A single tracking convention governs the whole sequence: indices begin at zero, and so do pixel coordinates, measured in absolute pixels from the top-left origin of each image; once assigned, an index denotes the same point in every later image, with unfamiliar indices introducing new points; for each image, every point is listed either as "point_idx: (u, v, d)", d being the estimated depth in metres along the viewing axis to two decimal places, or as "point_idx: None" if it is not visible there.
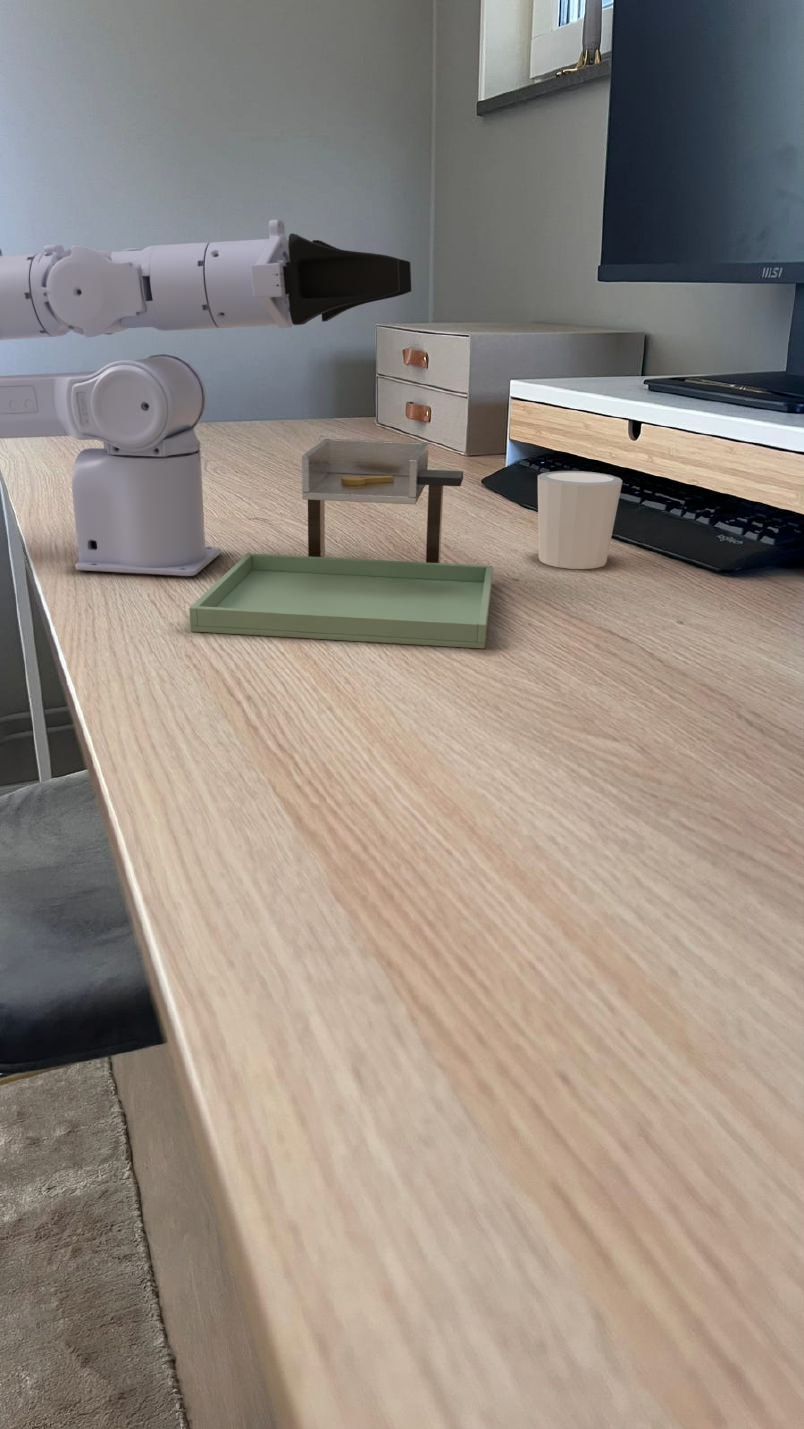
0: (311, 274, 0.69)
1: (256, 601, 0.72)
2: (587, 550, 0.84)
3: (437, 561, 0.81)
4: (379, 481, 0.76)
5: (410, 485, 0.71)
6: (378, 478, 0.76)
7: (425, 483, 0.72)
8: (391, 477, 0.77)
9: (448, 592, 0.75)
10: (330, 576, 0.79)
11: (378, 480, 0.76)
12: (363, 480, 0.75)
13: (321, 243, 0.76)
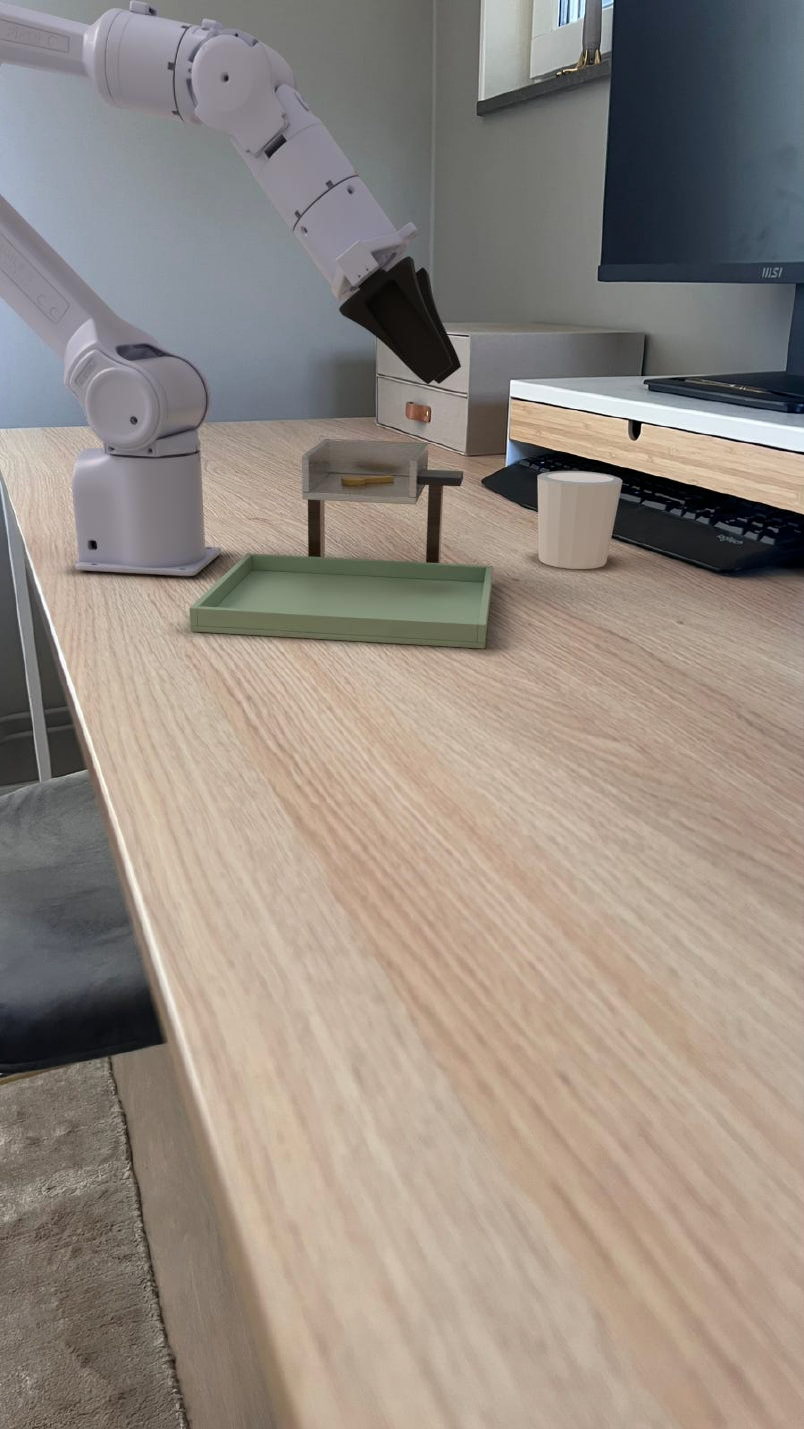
0: (390, 296, 0.67)
1: (256, 601, 0.72)
2: (587, 550, 0.84)
3: (437, 561, 0.81)
4: (379, 481, 0.76)
5: (410, 485, 0.71)
6: (378, 478, 0.76)
7: (425, 483, 0.72)
8: (391, 477, 0.77)
9: (448, 592, 0.75)
10: (330, 576, 0.79)
11: (378, 480, 0.76)
12: (363, 480, 0.75)
13: (425, 277, 0.74)
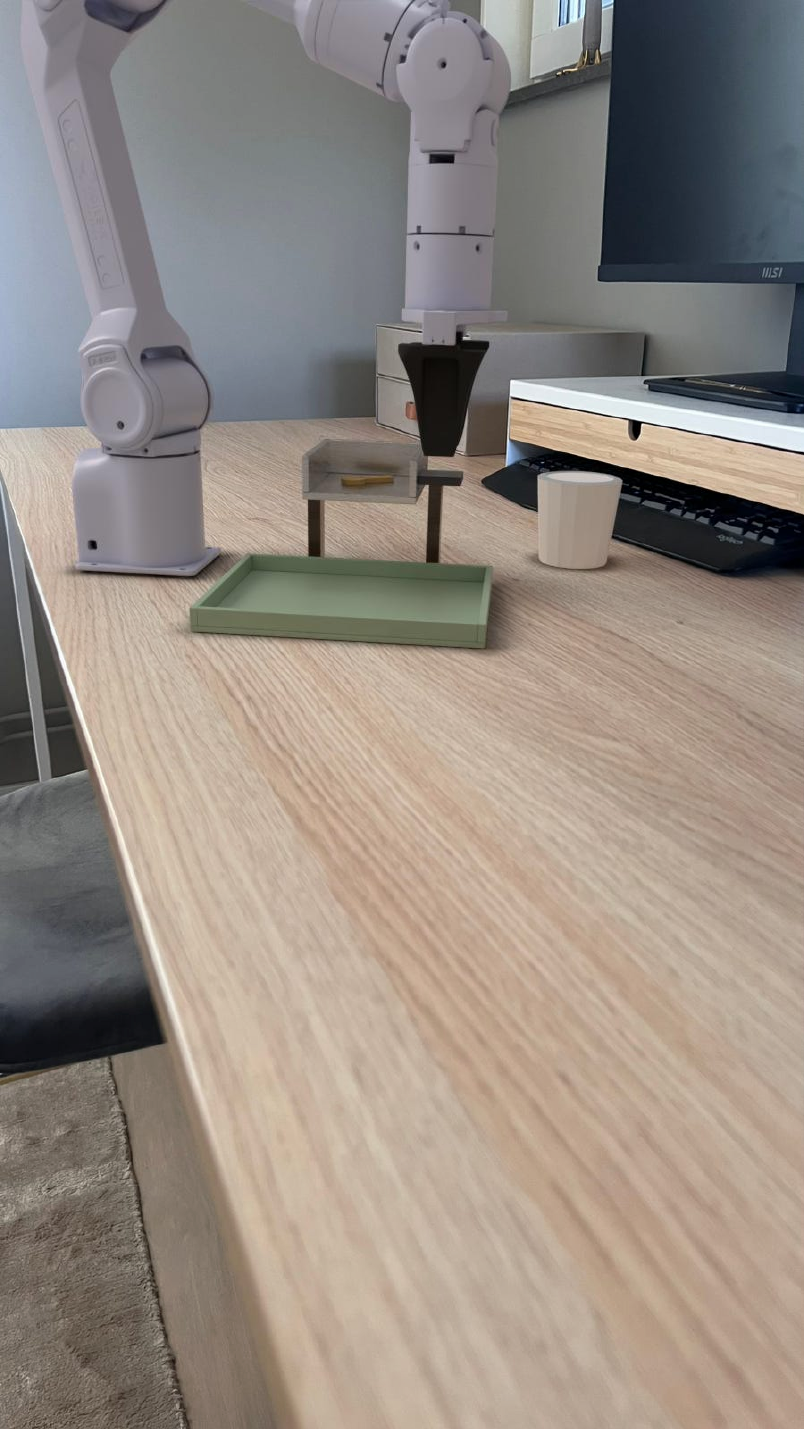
0: (446, 366, 0.67)
1: (256, 601, 0.72)
2: (587, 550, 0.84)
3: (437, 561, 0.81)
4: (379, 481, 0.76)
5: (410, 485, 0.71)
6: (378, 478, 0.76)
7: (425, 483, 0.72)
8: (391, 477, 0.77)
9: (448, 592, 0.75)
10: (330, 576, 0.79)
11: (378, 480, 0.76)
12: (363, 480, 0.75)
13: (484, 352, 0.72)
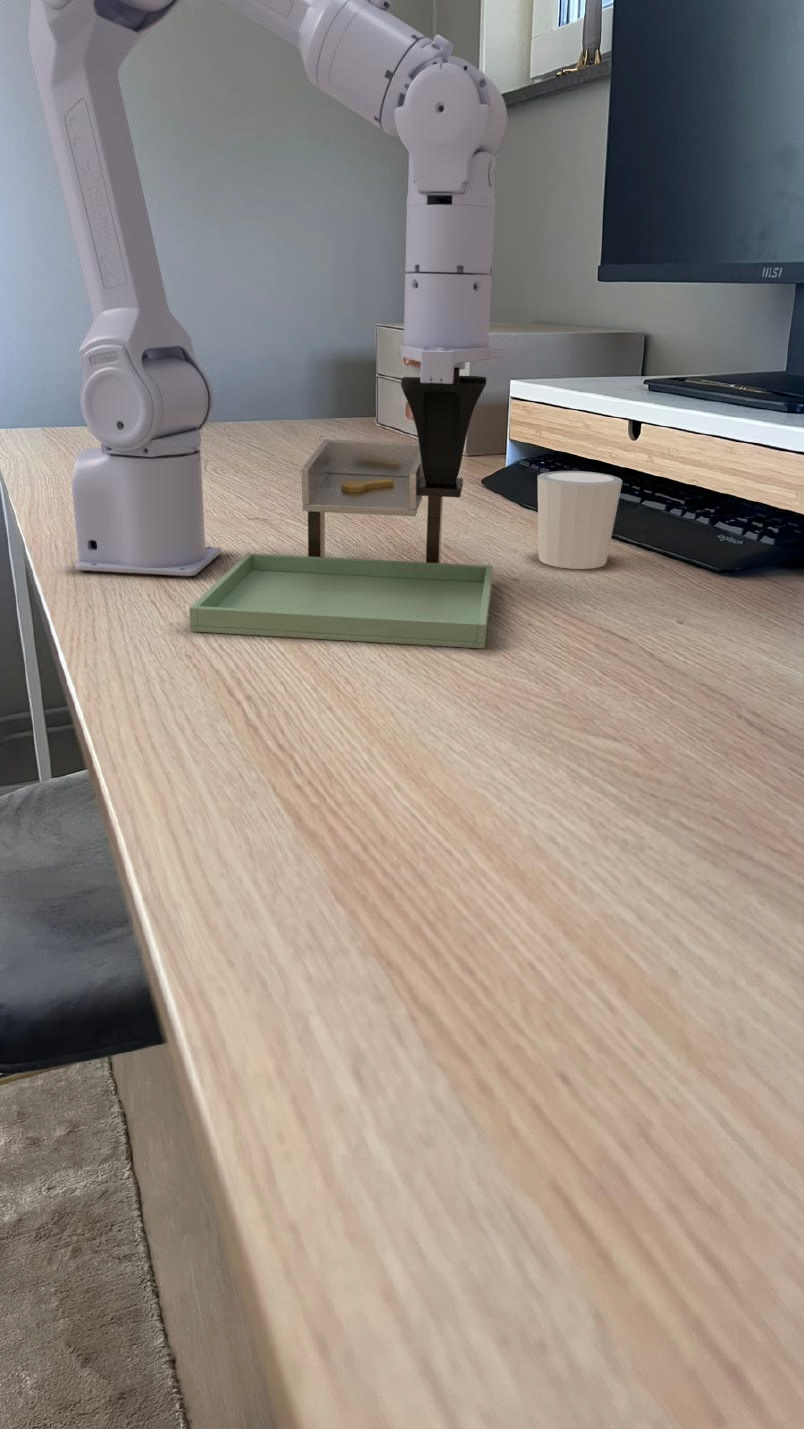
0: (447, 398, 0.70)
1: (256, 601, 0.72)
2: (587, 550, 0.84)
3: (437, 561, 0.81)
4: (379, 486, 0.76)
5: (410, 498, 0.71)
6: (378, 483, 0.76)
7: (425, 494, 0.72)
8: (391, 481, 0.77)
9: (448, 592, 0.75)
10: (330, 576, 0.79)
11: (378, 485, 0.76)
12: (363, 487, 0.75)
13: None
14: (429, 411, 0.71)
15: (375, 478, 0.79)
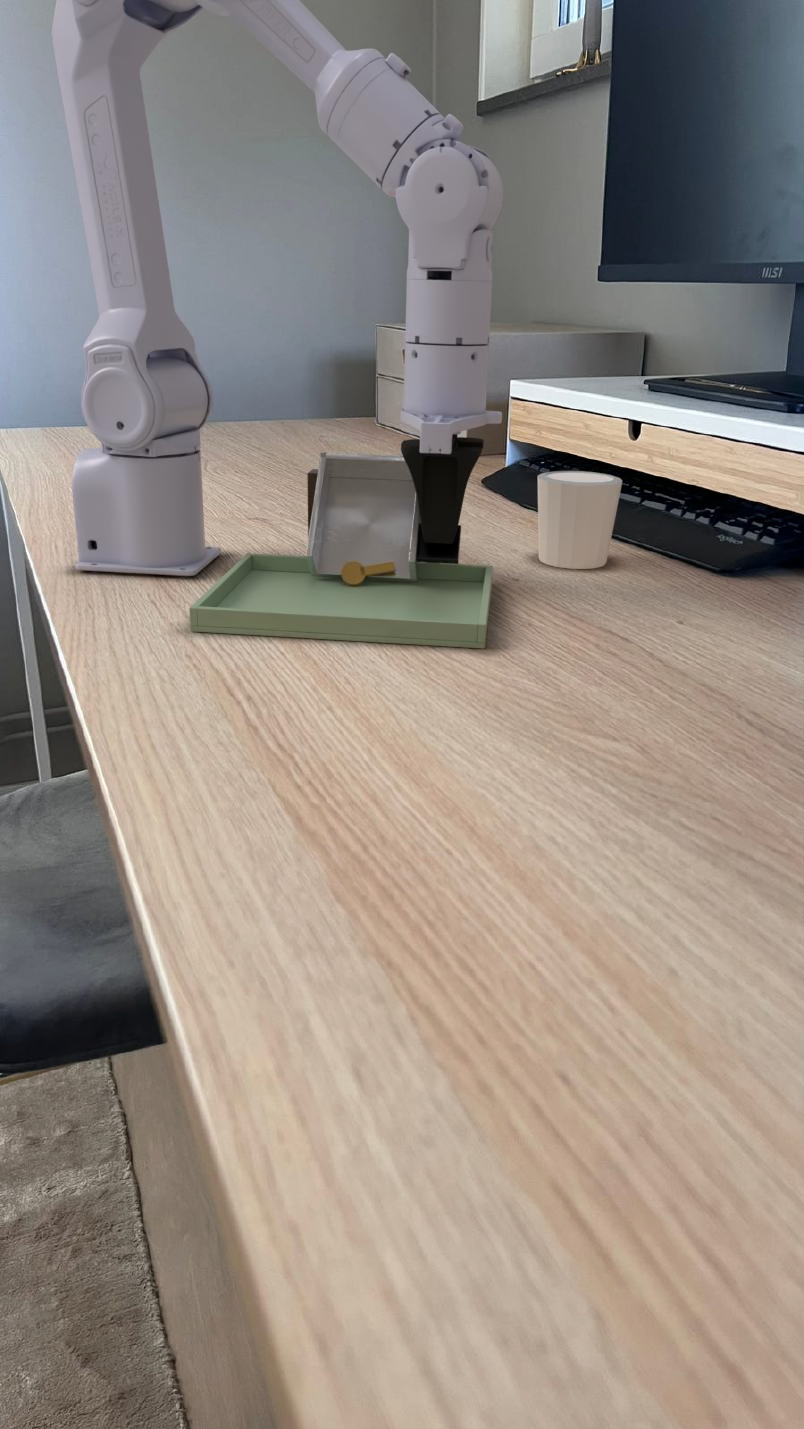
0: (445, 462, 0.72)
1: (256, 601, 0.72)
2: (587, 550, 0.84)
3: None
4: (379, 573, 0.76)
5: (410, 573, 0.76)
6: (378, 573, 0.76)
7: (424, 561, 0.76)
8: (392, 570, 0.76)
9: (448, 592, 0.75)
10: None
11: (378, 573, 0.76)
12: (361, 581, 0.76)
13: None
14: (428, 473, 0.73)
15: (376, 488, 0.79)
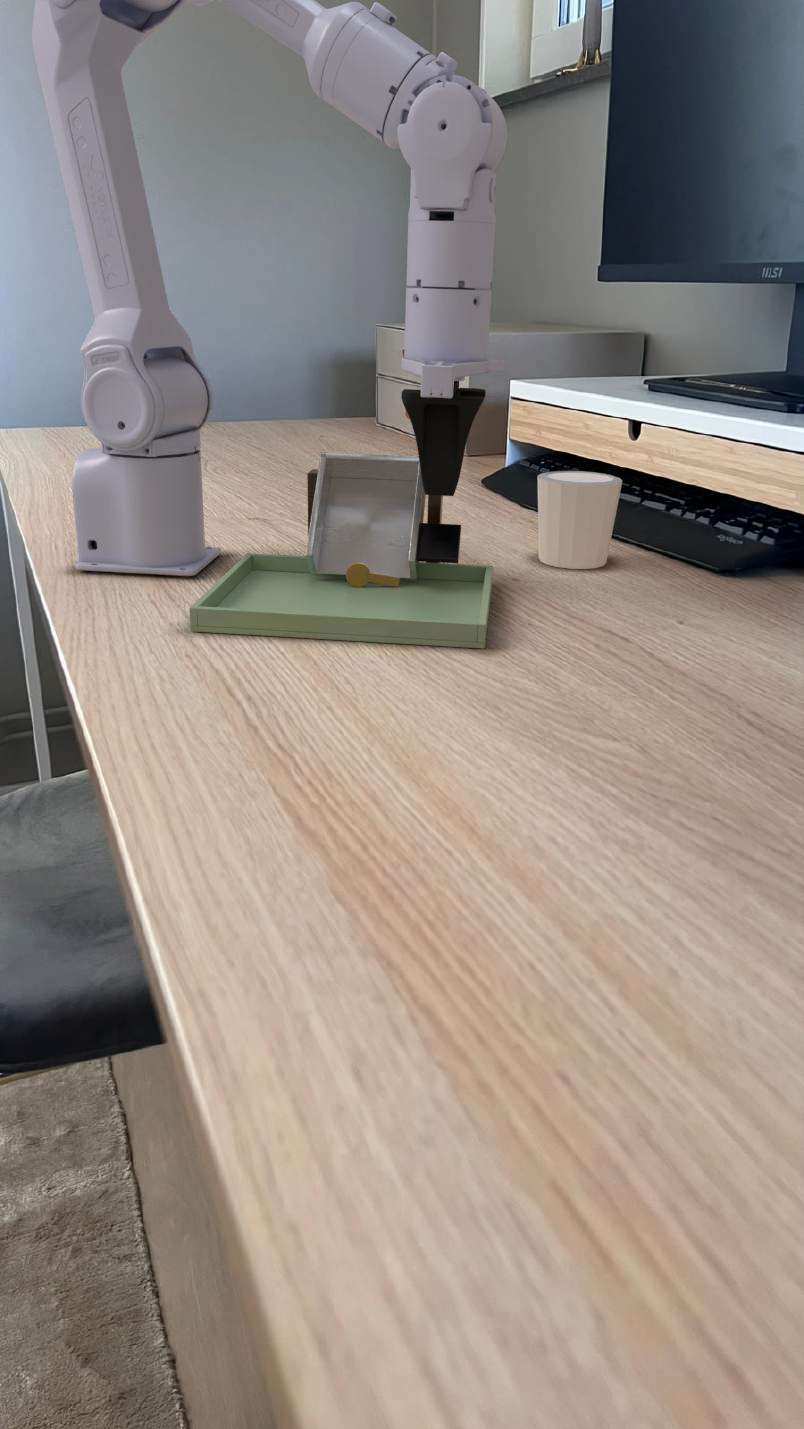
0: (447, 411, 0.71)
1: (256, 601, 0.72)
2: (587, 550, 0.84)
3: None
4: None
5: (410, 572, 0.76)
6: None
7: (424, 561, 0.76)
8: (396, 586, 0.76)
9: (448, 592, 0.75)
10: None
11: (381, 583, 0.76)
12: None
13: None
14: (429, 423, 0.71)
15: (376, 488, 0.79)
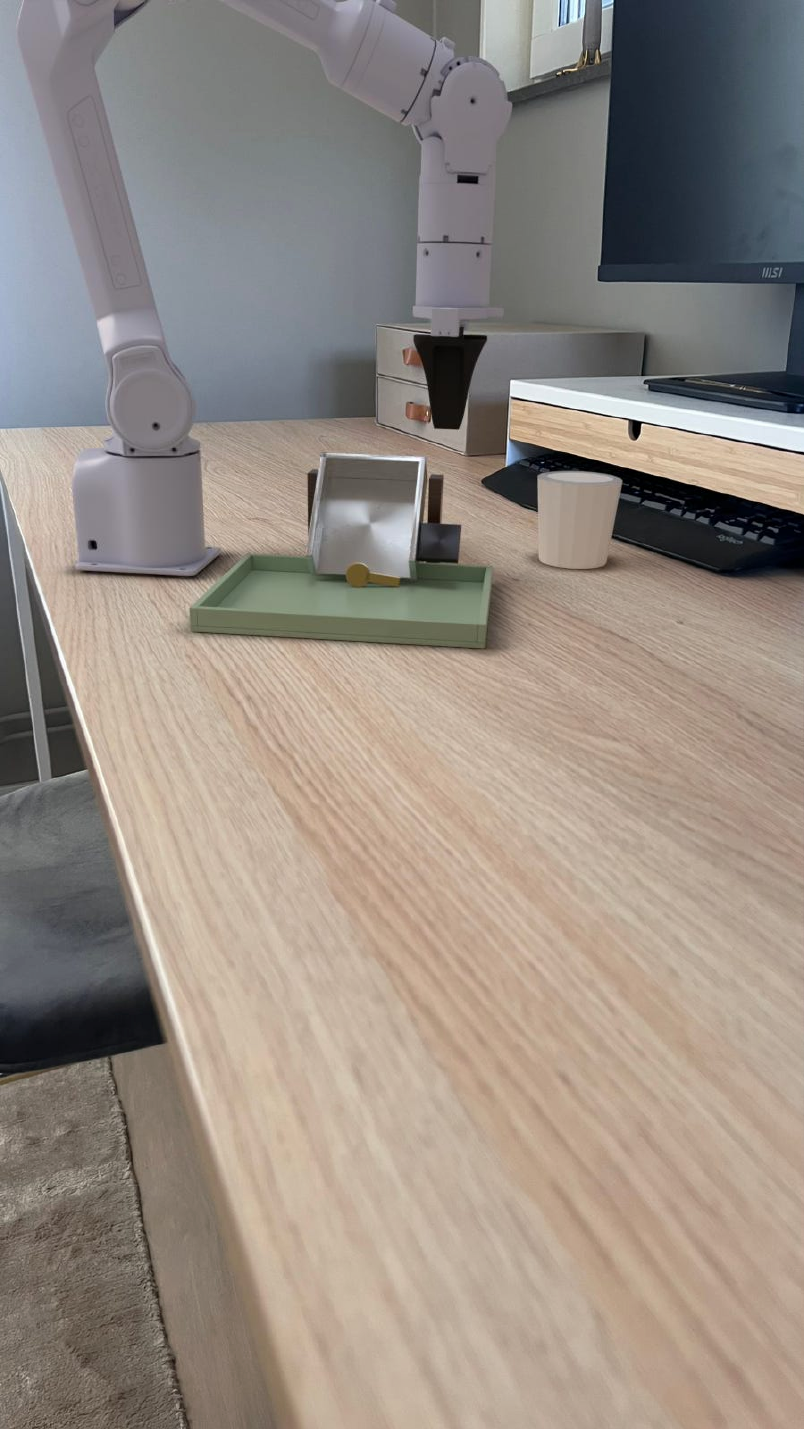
0: (453, 353, 0.81)
1: (256, 601, 0.72)
2: (587, 550, 0.84)
3: None
4: None
5: (410, 572, 0.76)
6: None
7: (424, 561, 0.76)
8: (396, 586, 0.76)
9: (448, 592, 0.75)
10: None
11: (381, 583, 0.76)
12: None
13: None
14: (437, 364, 0.81)
15: (376, 488, 0.79)
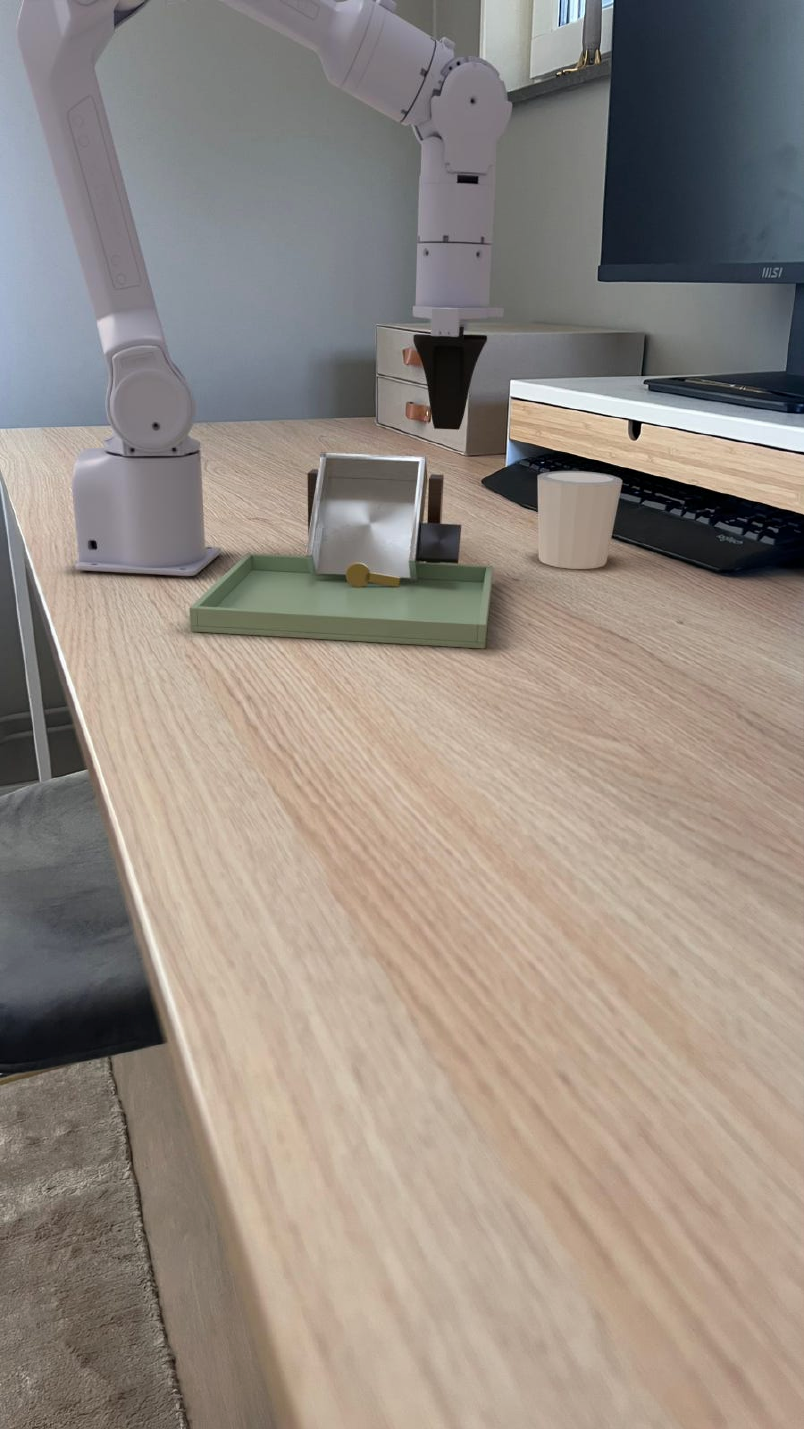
0: (453, 353, 0.81)
1: (256, 601, 0.72)
2: (587, 550, 0.84)
3: None
4: None
5: (410, 572, 0.76)
6: None
7: (424, 561, 0.76)
8: (396, 586, 0.76)
9: (448, 592, 0.75)
10: None
11: (381, 583, 0.76)
12: None
13: None
14: (437, 364, 0.81)
15: (376, 488, 0.79)
